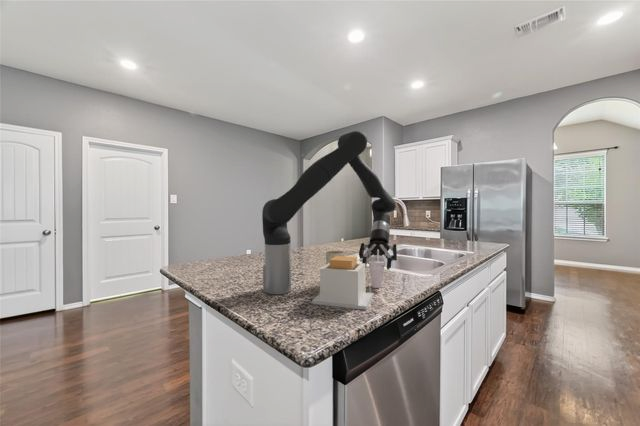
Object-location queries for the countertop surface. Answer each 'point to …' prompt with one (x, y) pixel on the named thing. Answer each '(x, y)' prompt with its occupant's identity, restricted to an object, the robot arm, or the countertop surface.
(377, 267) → the smoothie
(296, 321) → the countertop surface
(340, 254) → the character mug
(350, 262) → the orange block
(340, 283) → the white open box
